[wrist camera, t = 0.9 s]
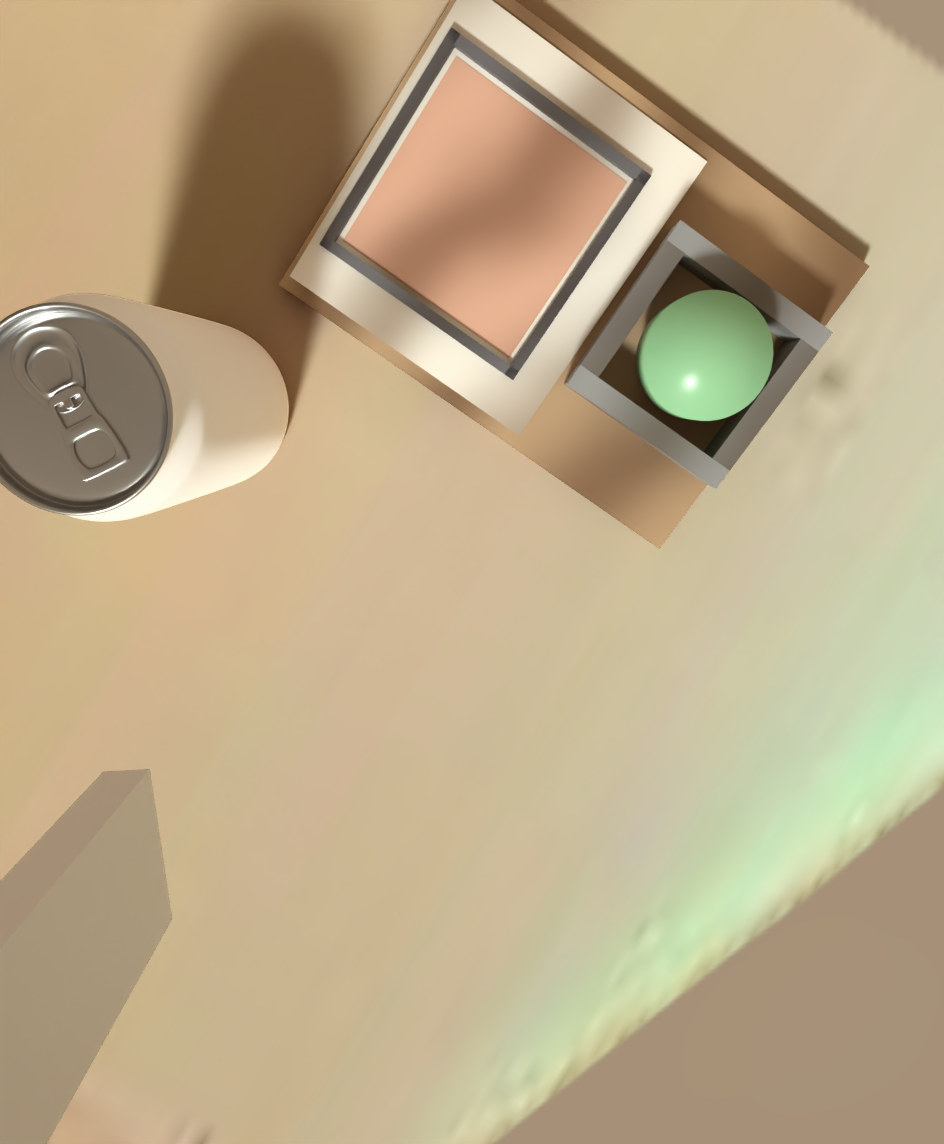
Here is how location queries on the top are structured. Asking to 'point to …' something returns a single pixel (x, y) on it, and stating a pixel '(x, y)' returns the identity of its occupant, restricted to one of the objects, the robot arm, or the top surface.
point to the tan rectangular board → (560, 259)
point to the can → (131, 406)
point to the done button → (705, 356)
